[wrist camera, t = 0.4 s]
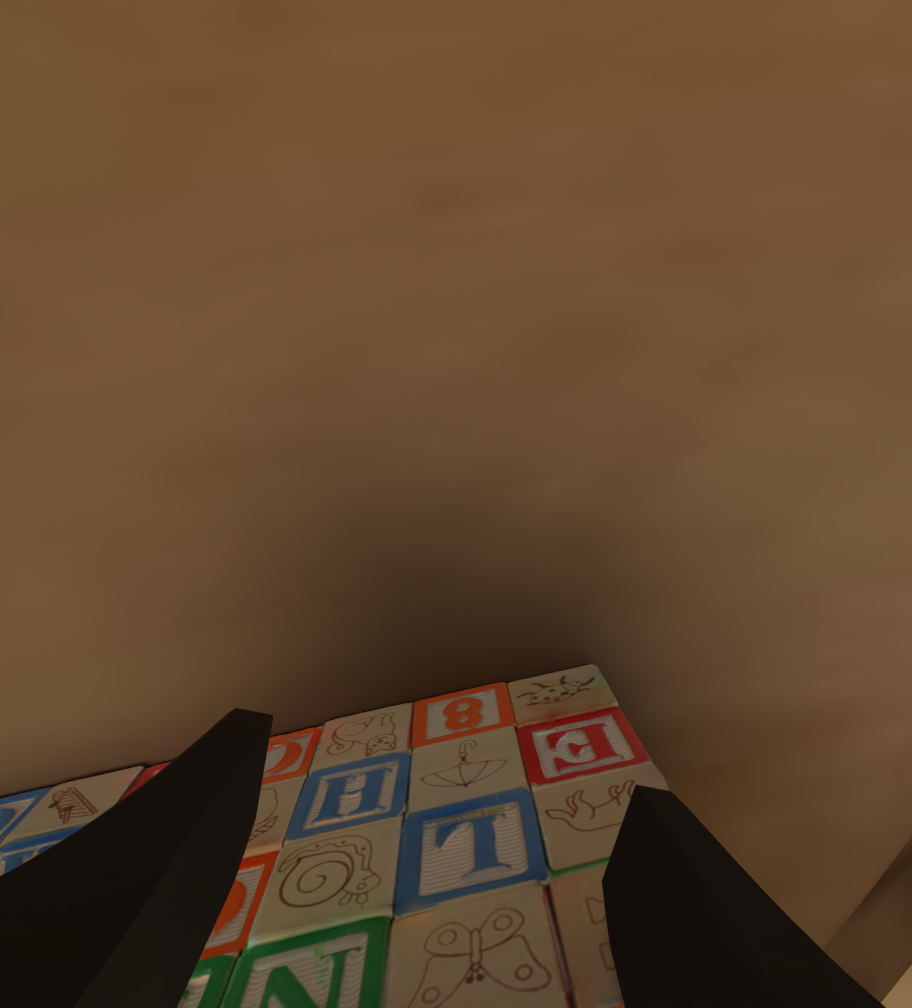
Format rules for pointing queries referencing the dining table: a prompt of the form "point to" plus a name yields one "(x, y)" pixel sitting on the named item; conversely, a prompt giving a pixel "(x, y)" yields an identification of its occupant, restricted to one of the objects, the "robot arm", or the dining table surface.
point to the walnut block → (881, 937)
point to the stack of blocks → (412, 853)
